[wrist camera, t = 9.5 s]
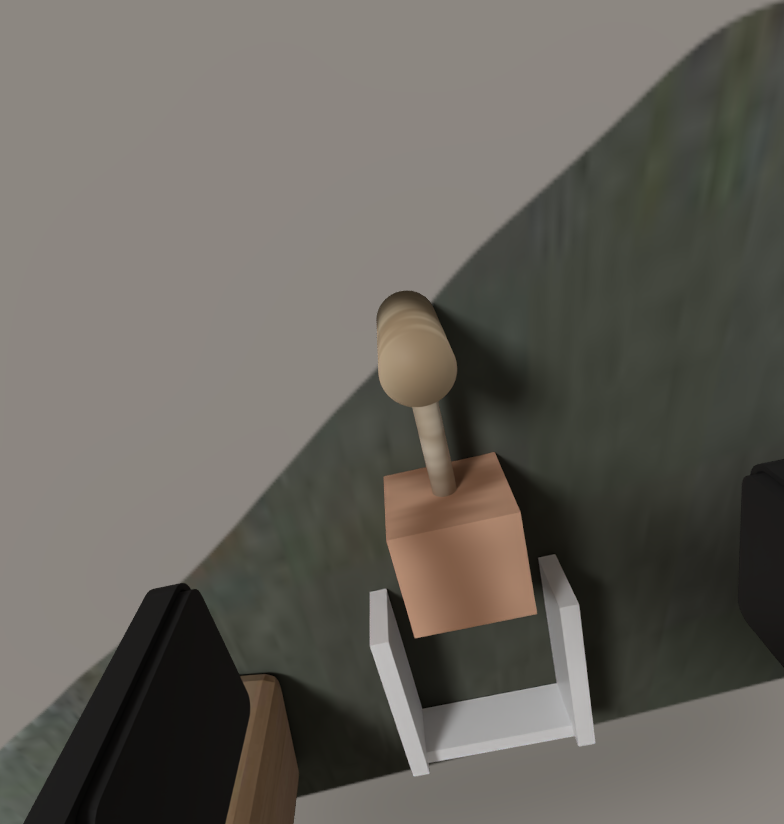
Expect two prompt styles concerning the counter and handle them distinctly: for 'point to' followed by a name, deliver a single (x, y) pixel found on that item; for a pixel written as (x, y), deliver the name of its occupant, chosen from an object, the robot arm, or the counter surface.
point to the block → (445, 493)
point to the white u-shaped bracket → (498, 714)
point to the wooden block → (265, 759)
